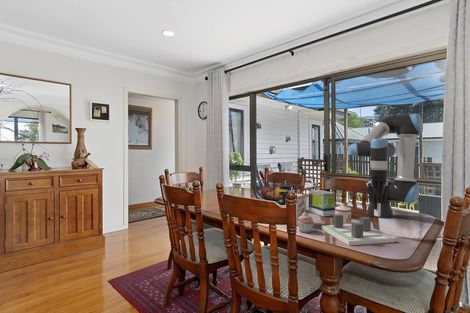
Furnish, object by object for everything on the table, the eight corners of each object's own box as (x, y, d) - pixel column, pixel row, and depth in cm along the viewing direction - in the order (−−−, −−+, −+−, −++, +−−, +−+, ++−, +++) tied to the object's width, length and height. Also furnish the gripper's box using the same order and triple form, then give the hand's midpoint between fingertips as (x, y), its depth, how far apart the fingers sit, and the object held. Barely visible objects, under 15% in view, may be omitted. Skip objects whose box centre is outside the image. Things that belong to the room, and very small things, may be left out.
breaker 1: (339, 225, 143) (340, 214, 143) (343, 226, 140) (343, 215, 140) (332, 225, 143) (333, 214, 142) (336, 227, 140) (336, 215, 139)
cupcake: (309, 235, 135) (309, 215, 134) (292, 231, 141) (292, 212, 141) (317, 230, 142) (317, 212, 141) (301, 227, 148) (301, 209, 148)
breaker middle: (366, 228, 137) (366, 217, 137) (370, 230, 134) (370, 218, 134) (359, 229, 137) (359, 217, 136) (363, 230, 134) (363, 218, 134)
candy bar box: (296, 226, 150) (296, 197, 149) (288, 224, 153) (288, 195, 153) (306, 222, 158) (307, 194, 157) (299, 220, 161) (299, 193, 161)
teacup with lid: (349, 227, 148) (350, 206, 148) (332, 224, 153) (333, 204, 153) (354, 222, 158) (354, 202, 157) (338, 219, 163) (338, 200, 163)
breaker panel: (361, 226, 149) (361, 223, 149) (395, 242, 125) (395, 237, 125) (321, 229, 144) (321, 225, 144) (348, 245, 121) (348, 240, 121)
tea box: (335, 215, 174) (335, 192, 173) (322, 217, 170) (323, 193, 169) (319, 210, 188) (319, 189, 187) (307, 211, 184) (308, 190, 183)
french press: (279, 207, 196) (280, 176, 195) (292, 208, 193) (293, 176, 192) (276, 211, 185) (276, 177, 184) (290, 212, 182) (290, 178, 181)
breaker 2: (358, 234, 128) (359, 222, 127) (363, 236, 125) (363, 224, 125) (351, 235, 127) (351, 222, 127) (355, 237, 124) (355, 224, 124)
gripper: (384, 168, 141) (383, 213, 141) (362, 168, 138) (360, 214, 139) (395, 169, 133) (394, 217, 134) (372, 169, 131) (370, 218, 131)
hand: (377, 215), depth 136 cm, fingers closed
